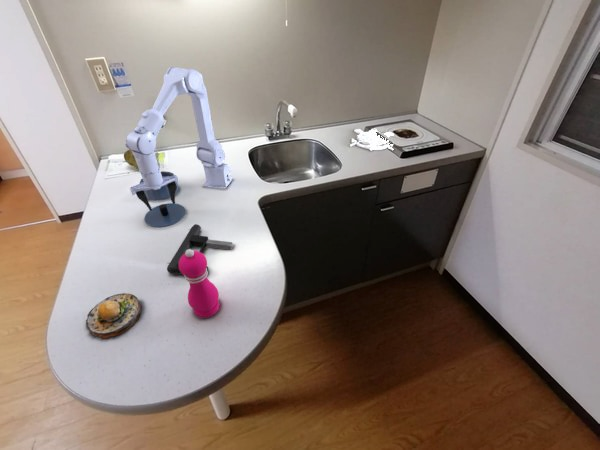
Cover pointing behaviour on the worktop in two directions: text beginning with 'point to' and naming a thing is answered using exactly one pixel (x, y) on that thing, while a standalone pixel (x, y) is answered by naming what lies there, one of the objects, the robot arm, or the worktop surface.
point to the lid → (165, 215)
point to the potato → (130, 158)
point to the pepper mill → (199, 284)
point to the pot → (160, 190)
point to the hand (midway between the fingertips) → (162, 205)
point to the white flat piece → (371, 140)
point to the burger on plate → (113, 315)
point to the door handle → (194, 241)
